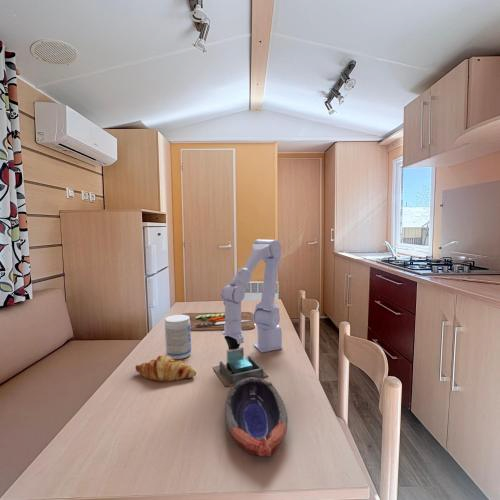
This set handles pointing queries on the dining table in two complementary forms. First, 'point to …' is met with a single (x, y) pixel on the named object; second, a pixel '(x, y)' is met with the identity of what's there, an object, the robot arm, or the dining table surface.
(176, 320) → the supplement tub
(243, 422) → the dish
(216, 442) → the dining table surface
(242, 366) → the trolley
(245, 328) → the chopping board
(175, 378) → the croissant
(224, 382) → the dock bay
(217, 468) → the dining table surface
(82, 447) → the dining table surface
